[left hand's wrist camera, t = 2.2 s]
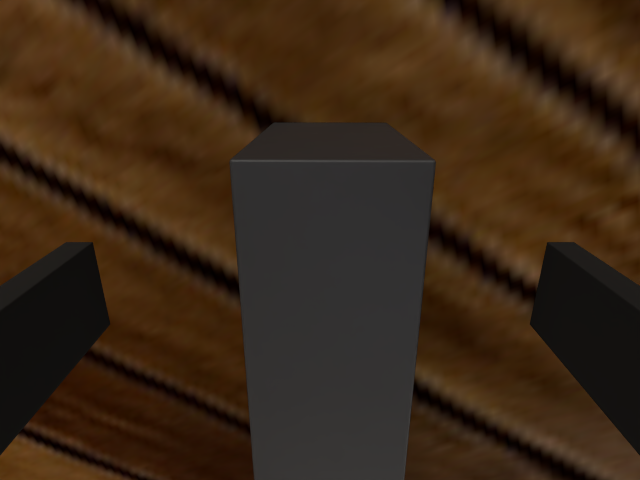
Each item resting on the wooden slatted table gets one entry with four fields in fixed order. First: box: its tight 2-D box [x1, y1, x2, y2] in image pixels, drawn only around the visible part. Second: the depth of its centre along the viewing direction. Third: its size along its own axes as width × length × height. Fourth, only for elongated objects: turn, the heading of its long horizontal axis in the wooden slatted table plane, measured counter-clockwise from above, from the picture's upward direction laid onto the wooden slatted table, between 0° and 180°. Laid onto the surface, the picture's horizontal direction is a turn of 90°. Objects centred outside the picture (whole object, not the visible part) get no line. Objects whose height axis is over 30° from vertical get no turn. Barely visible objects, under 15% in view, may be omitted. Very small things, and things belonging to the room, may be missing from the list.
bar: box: [230, 123, 436, 480], centre depth 19 cm, size 23×5×10 cm, turn 0°
